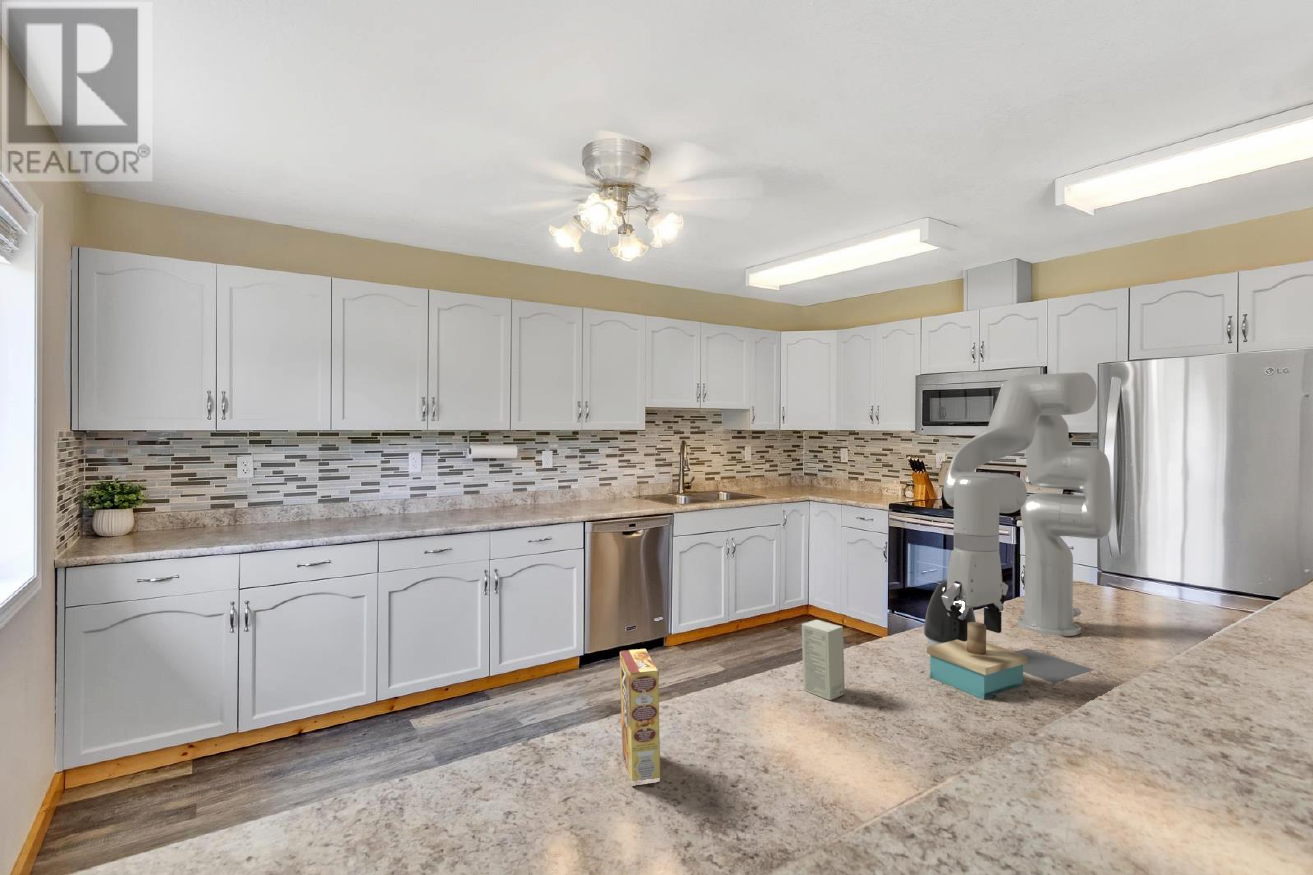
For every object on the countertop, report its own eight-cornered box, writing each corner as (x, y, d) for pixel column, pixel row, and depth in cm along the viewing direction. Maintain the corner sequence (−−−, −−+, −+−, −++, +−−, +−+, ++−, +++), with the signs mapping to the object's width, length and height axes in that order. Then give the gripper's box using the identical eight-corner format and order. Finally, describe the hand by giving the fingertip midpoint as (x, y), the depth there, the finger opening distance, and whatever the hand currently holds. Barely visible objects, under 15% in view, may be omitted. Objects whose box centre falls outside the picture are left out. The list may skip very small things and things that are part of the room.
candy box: (661, 784, 84) (661, 670, 83) (630, 788, 83) (629, 673, 83) (647, 750, 92) (647, 647, 92) (619, 754, 91) (618, 650, 91)
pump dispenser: (988, 662, 126) (988, 587, 126) (936, 662, 126) (936, 587, 126) (964, 645, 136) (964, 575, 136) (916, 645, 136) (916, 575, 136)
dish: (968, 666, 124) (968, 644, 124) (1023, 687, 114) (1023, 662, 114) (930, 677, 119) (930, 653, 119) (984, 699, 109) (984, 673, 109)
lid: (968, 642, 124) (968, 611, 124) (1028, 662, 114) (1028, 628, 114) (926, 653, 119) (926, 620, 119) (985, 675, 108) (985, 639, 108)
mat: (1027, 650, 133) (1027, 648, 133) (1093, 671, 121) (1093, 669, 121) (987, 661, 127) (987, 659, 127) (1053, 684, 115) (1053, 682, 115)
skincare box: (845, 695, 111) (845, 626, 111) (829, 701, 108) (829, 632, 108) (816, 683, 116) (816, 618, 116) (801, 689, 113) (800, 623, 113)
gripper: (987, 535, 123) (987, 622, 124) (926, 543, 115) (926, 636, 116) (1024, 541, 117) (1024, 633, 117) (963, 550, 109) (963, 649, 109)
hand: (975, 635), depth 116 cm, fingers open, 9 cm apart
